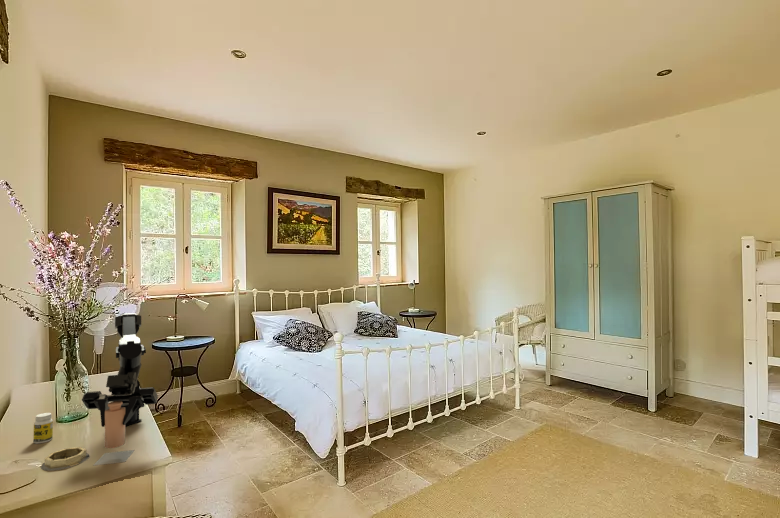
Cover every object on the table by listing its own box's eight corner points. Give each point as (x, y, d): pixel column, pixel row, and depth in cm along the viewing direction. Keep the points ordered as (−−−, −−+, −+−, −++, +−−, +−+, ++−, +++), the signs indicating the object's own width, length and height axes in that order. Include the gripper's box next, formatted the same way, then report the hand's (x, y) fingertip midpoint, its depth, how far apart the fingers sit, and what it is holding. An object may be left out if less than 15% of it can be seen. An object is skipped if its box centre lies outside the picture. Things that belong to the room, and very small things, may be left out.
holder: (78, 451, 125) (78, 442, 125) (97, 459, 120) (97, 450, 120) (33, 466, 115) (33, 457, 115) (51, 476, 110) (51, 466, 110)
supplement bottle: (30, 445, 130) (31, 418, 130) (36, 439, 134) (36, 413, 135) (49, 442, 132) (50, 415, 132) (54, 436, 136) (55, 411, 137)
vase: (119, 439, 123) (119, 399, 123) (128, 442, 121) (129, 401, 121) (100, 445, 119) (101, 404, 119) (110, 449, 116) (110, 406, 116)
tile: (104, 455, 122) (104, 453, 122) (135, 451, 124) (135, 449, 124) (92, 467, 115) (92, 465, 115) (125, 463, 117) (125, 461, 117)
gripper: (85, 364, 122) (65, 415, 111) (155, 360, 126) (143, 409, 115) (96, 384, 129) (79, 433, 118) (162, 379, 134) (151, 426, 123)
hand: (113, 425), depth 118 cm, fingers closed on vase, 5 cm apart
